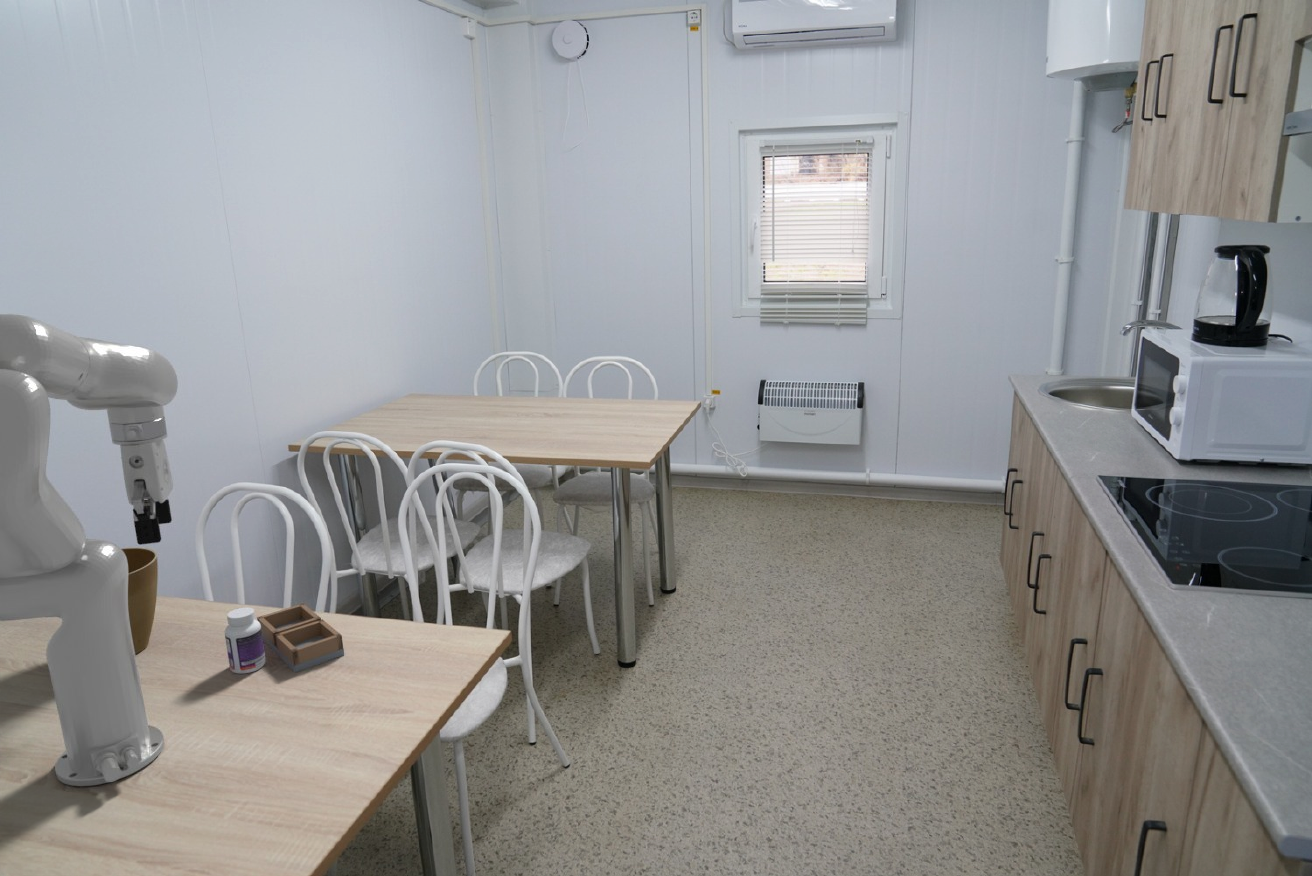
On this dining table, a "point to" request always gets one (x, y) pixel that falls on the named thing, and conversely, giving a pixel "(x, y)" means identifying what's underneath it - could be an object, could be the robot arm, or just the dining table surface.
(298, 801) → the dining table surface
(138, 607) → the plant pot
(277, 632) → the two-cubby wooden organizer
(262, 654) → the pill bottle
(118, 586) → the robot arm
